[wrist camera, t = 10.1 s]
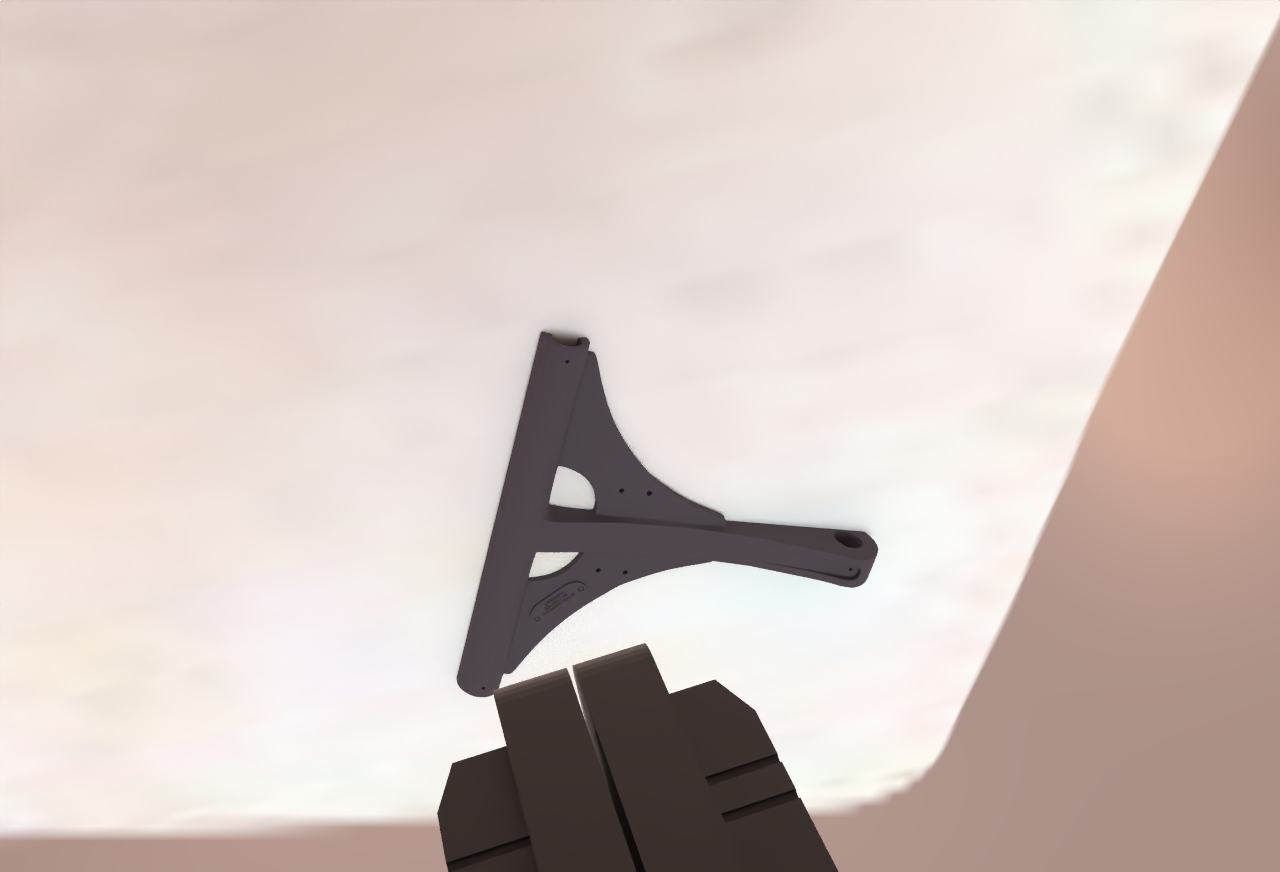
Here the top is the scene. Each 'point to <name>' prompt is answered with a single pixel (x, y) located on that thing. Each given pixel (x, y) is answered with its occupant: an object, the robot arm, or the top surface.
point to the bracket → (607, 524)
